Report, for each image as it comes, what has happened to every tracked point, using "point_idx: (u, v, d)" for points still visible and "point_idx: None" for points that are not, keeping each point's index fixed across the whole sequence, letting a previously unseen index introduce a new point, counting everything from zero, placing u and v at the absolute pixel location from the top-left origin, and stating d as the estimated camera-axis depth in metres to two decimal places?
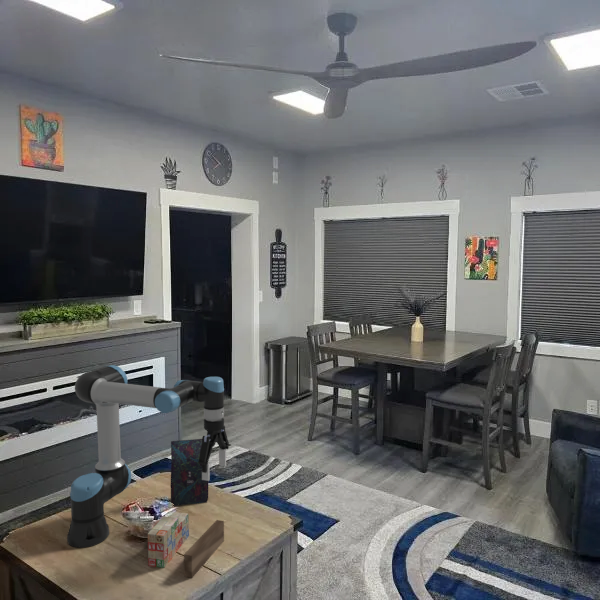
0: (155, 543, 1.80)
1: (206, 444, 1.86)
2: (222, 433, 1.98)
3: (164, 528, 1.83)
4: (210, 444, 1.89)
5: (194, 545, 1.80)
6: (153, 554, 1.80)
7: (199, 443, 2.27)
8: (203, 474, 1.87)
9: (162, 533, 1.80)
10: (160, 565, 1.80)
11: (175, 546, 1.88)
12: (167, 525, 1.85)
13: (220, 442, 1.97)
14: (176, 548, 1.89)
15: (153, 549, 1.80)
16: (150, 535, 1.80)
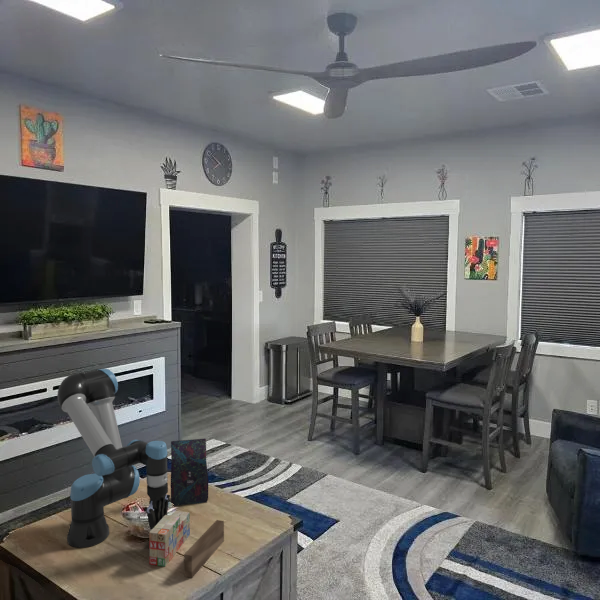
0: (157, 542, 1.80)
1: (151, 515, 1.85)
2: (165, 503, 1.94)
3: (166, 526, 1.84)
4: (156, 511, 1.89)
5: (194, 545, 1.80)
6: (155, 552, 1.81)
7: (199, 443, 2.27)
8: None
9: (164, 532, 1.81)
10: (161, 564, 1.81)
11: (176, 545, 1.89)
12: (169, 524, 1.86)
13: (160, 513, 1.91)
14: (177, 547, 1.90)
15: (154, 547, 1.80)
16: (152, 533, 1.80)
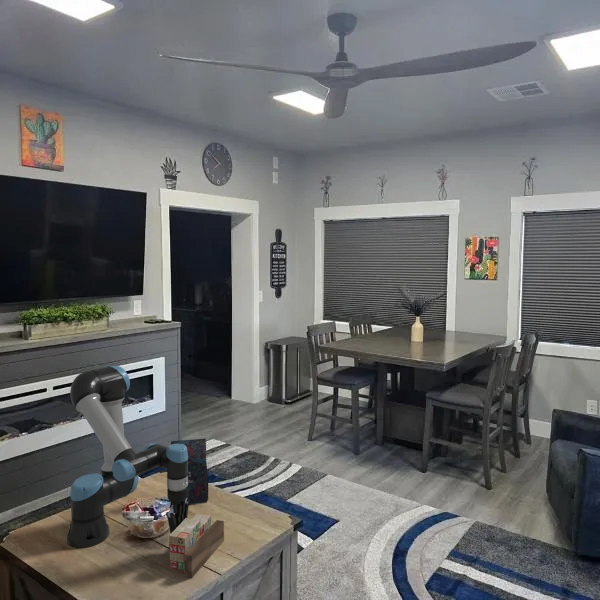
0: (176, 545, 1.78)
1: (172, 519, 1.83)
2: (185, 506, 1.92)
3: (186, 530, 1.82)
4: (176, 515, 1.86)
5: (194, 545, 1.80)
6: (175, 556, 1.79)
7: (199, 443, 2.27)
8: None
9: (183, 535, 1.79)
10: (181, 568, 1.78)
11: None
12: (189, 528, 1.83)
13: (180, 517, 1.89)
14: None
15: (174, 551, 1.79)
16: (171, 537, 1.78)
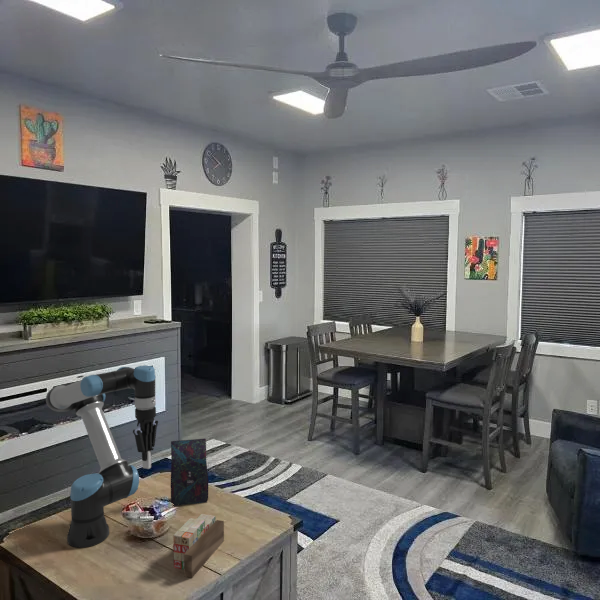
0: (180, 545, 1.78)
1: (139, 437, 1.87)
2: (153, 428, 1.96)
3: (190, 530, 1.82)
4: (144, 434, 1.91)
5: (194, 545, 1.80)
6: (179, 556, 1.79)
7: (199, 443, 2.27)
8: (144, 462, 1.93)
9: (187, 535, 1.79)
10: None
11: None
12: (193, 528, 1.84)
13: (148, 437, 1.93)
14: None
15: (178, 551, 1.79)
16: (176, 537, 1.79)
